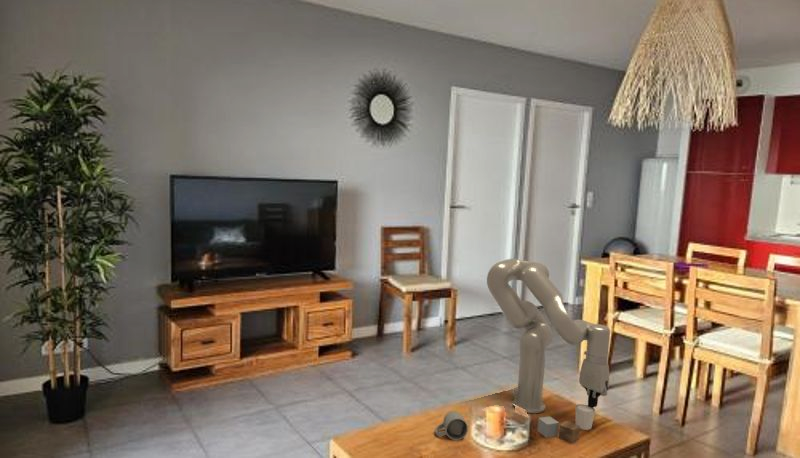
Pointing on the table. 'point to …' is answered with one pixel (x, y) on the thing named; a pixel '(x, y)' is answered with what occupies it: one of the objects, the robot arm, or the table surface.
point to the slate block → (548, 427)
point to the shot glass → (584, 416)
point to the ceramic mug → (453, 426)
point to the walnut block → (569, 432)
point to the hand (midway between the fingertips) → (592, 406)
